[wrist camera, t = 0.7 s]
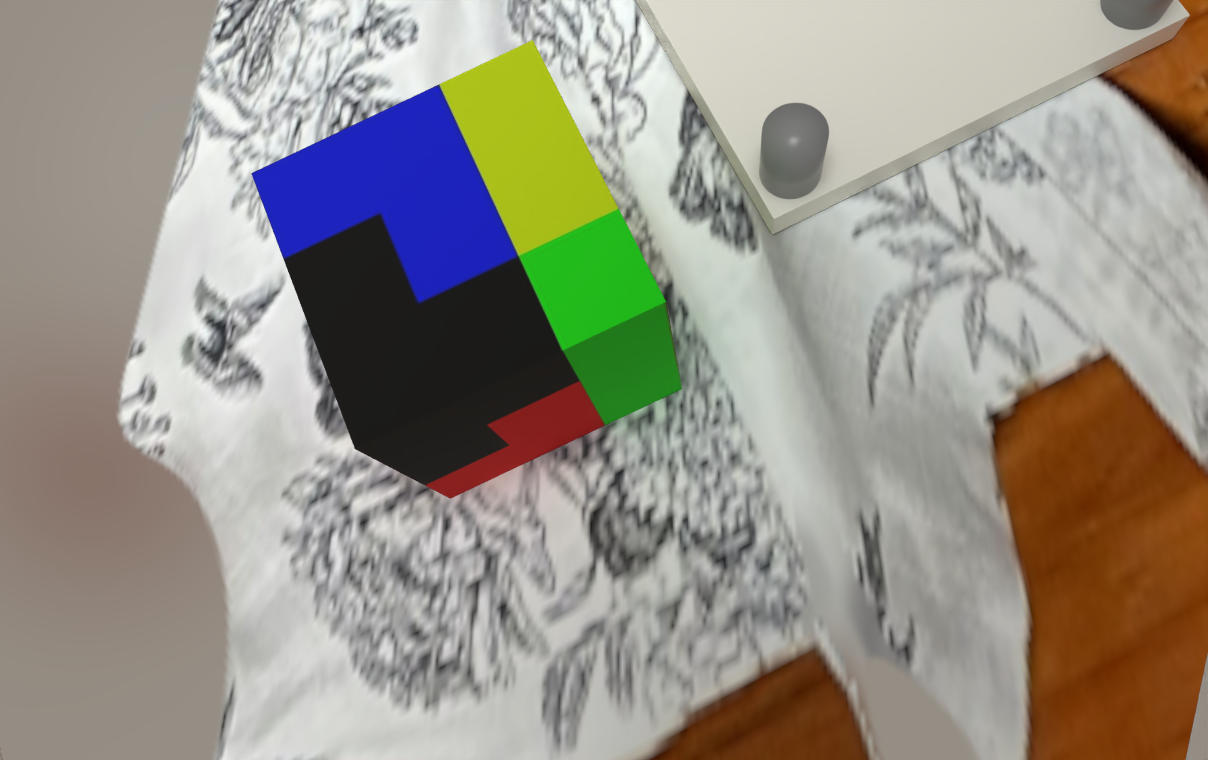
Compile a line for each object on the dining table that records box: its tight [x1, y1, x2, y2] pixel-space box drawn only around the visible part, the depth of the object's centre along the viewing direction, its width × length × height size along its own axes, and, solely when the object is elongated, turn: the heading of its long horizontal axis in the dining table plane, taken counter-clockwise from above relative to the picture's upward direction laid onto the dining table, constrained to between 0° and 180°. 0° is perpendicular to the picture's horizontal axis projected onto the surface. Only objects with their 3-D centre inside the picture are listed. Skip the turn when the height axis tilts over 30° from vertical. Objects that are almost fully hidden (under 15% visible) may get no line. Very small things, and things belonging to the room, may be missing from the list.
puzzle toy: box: [251, 40, 682, 498], centre depth 34 cm, size 10×10×10 cm
